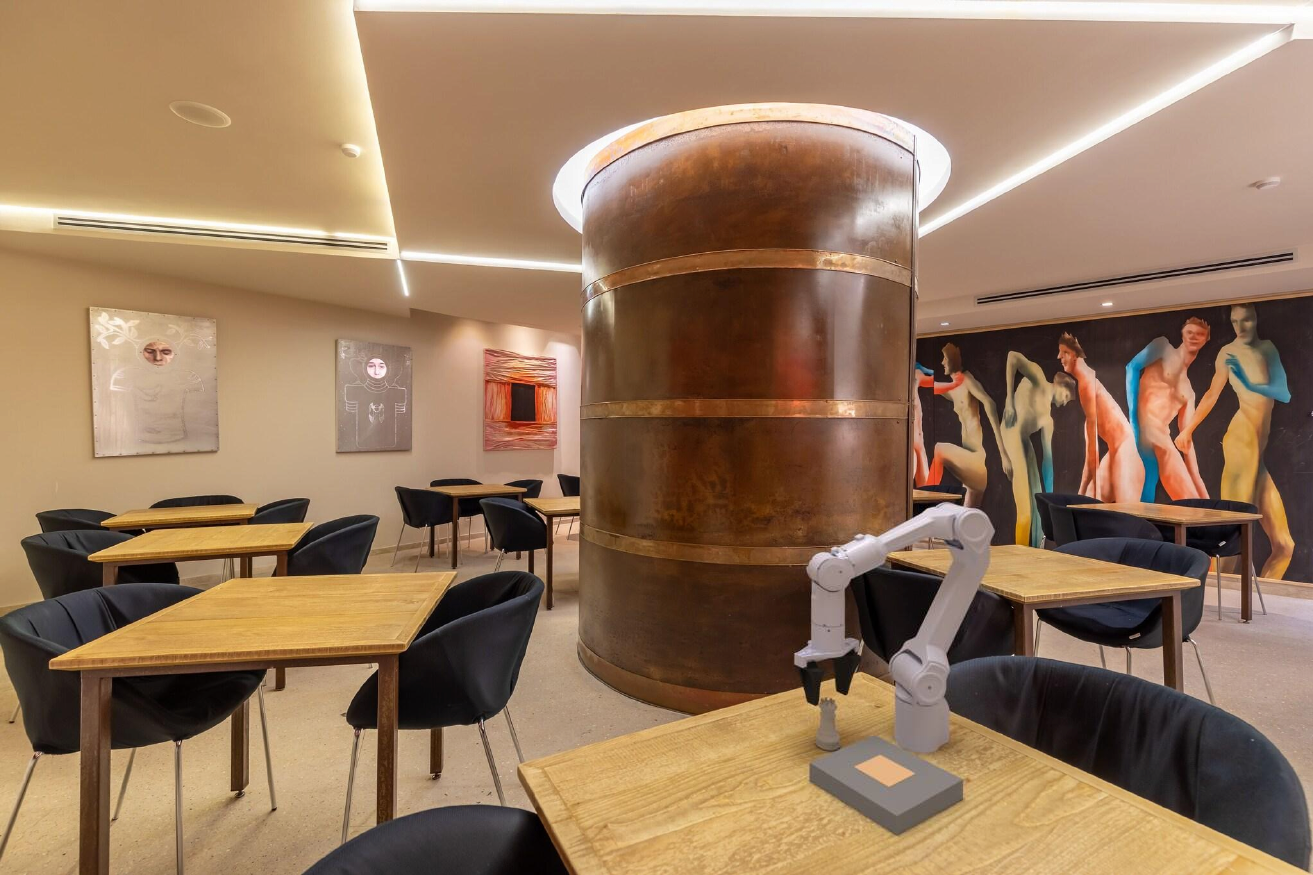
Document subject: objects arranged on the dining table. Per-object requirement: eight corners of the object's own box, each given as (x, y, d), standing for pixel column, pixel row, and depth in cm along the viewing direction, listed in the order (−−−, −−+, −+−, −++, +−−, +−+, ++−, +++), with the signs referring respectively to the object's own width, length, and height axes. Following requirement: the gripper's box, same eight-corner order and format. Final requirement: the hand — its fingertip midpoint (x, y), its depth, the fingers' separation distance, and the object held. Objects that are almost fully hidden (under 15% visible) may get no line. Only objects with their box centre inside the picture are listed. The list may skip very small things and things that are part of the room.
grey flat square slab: (874, 751, 106) (874, 734, 106) (963, 798, 93) (963, 778, 93) (809, 781, 97) (809, 761, 97) (896, 837, 84) (897, 815, 84)
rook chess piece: (842, 753, 106) (842, 707, 106) (815, 750, 107) (815, 705, 107) (839, 740, 110) (839, 696, 110) (814, 737, 111) (814, 694, 111)
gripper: (837, 609, 115) (837, 681, 116) (781, 623, 107) (781, 699, 108) (869, 619, 109) (868, 694, 110) (812, 634, 102) (811, 715, 102)
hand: (827, 698), depth 108 cm, fingers open, 7 cm apart
